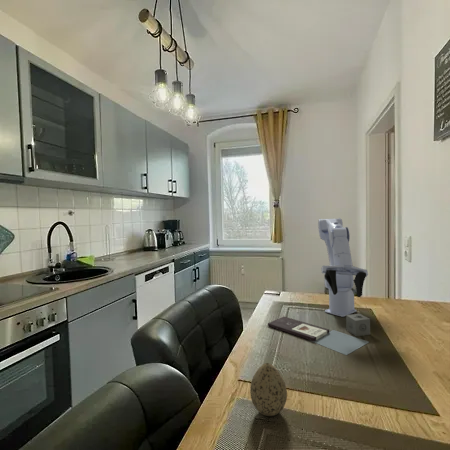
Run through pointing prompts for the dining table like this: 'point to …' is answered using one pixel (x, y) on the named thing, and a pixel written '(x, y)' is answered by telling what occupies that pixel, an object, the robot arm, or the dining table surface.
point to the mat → (340, 342)
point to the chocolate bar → (299, 328)
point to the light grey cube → (358, 324)
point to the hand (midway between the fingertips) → (347, 294)
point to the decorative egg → (268, 390)
